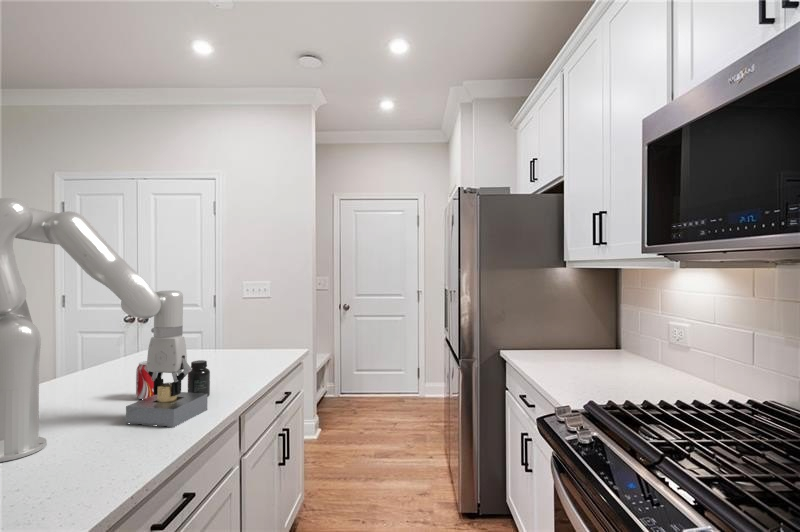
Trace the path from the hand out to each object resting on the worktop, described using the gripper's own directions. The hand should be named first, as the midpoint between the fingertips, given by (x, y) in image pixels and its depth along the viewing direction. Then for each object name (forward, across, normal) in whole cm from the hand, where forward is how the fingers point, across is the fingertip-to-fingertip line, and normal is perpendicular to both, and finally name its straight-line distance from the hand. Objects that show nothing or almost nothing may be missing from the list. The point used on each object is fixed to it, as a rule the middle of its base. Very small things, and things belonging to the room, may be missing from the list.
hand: (167, 393), depth 125 cm
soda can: (+7, -19, +15) cm, 25 cm away
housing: (+7, 0, 0) cm, 7 cm away
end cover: (+7, 0, 0) cm, 7 cm away
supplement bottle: (+7, -3, +19) cm, 21 cm away
